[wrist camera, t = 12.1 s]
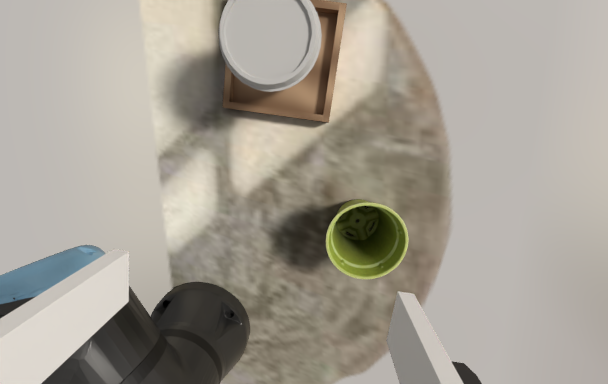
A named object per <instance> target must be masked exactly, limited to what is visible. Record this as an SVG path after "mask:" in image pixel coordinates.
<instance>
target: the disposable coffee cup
mask: <svg viewBox="0 0 608 384" xmlns="http://www.w3.org/2000/svg"><path fill="white" fill-rule="evenodd" d="M218 33H219V46H220V49H221V53H222V56H223V58H224V61H225V63H226V65H227V67H228V68H229V69H230V70H231V72H232V73H233V74H234V76H236V77H237V78H238V79H239V80H240V81H241V82H242V83H244V84H246V85H248V86H250V87H252V88H254V89H257V90H261V91H267V92H274V91H281V90H284V89H288V88H290V87H292V86H294V85H296V84H298V83H299V82H300V81H301V80H303V79H304V78H305V77H306V76H307V74H308V73H309V72H310V71H311V69H312V68H313V66H314V64H315V62H316V60H317V58H318V55H319V51H320V48H321V37H322V34H321V24H320V21H319V17H318V14H317V12H316V10H315V8H314V5H313V4H312V2H311V1H310V0H228V2H227V4H226V6H225V8H224V10H223V13H222V16H221V19H220V24H219V32H218Z"/></svg>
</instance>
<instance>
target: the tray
mask: <svg viewBox="0 0 608 384" xmlns="http://www.w3.org/2000/svg"><path fill="white" fill-rule="evenodd" d="M310 1H311V2H312V4H313V5H314V8H315V10H316V12H317V14H318V17H319V21H320V24H321V34H322V37H321V48H320V51H319V55H318V58H317V60H316V62H315V64H314V66H313V68H312V69H311V71H310V72H309V73H308V74H307V76H306V77H305V78H304V79H303V80H301V81H300V82H299V83H298V84H296V85H294V86H292V87H290V88H288V89H284V90H281V91H274V92H267V91H261V90H257V89H254V88H252V87H250V86H248V85H246V84H244V83H242V82H241V81H240V80H239V79H238V78H237V77H236V76H234V74H233V73H232V72H231V70H230V69H229V68H228V67H227V65H226V67H225V81H224V94H223V108H229V109H236V110H243V111H251V112H258V113H265V114H272V115H279V116H286V117H293V118H300V119H307V120H314V121H321V122H329V116H330V110H331V103H332V97H333V90H334V84H335V77H336V70H337V64H338V57H339V51H340V44H341V38H342V31H343V24H344V18H345V11H346V5H347V4H346V3H338V2H331V1H324V0H310Z"/></svg>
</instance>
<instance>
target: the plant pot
mask: <svg viewBox="0 0 608 384" xmlns="http://www.w3.org/2000/svg"><path fill="white" fill-rule="evenodd" d="M364 206H369V209H367V208H366V207H364ZM342 214H343V216H342V218H340V216H341V215H342ZM357 219H359V222H358V223H357V222H356V220H357ZM373 223H375V225H374V227H373V229H372V230H371V231H369V229H370V228H371V226H372V224H373ZM346 232H349V233H350V234H353V235H355V236H349V235H347V234H346ZM407 247H408V233H407V229H406V226H405V224H404V222H403V220H402V219H401V218H400V216H399V215H398V214H397V213H396V212H394V211H393V210H392V209H390V208H388V207H386V206H384V205H381V204H378V203H372V202H368V201H365V200H360V199H356V200H351V201H349V202H347V203H345V204H344V205H342V206H341V208H340V209H339V210H338V212H337V215H336V216H335V217H334V218H333V220H332V221H331V223H330V225H329V227H328V230H327V234H326V250H327V253H328V256H329V258H330V260H331V262H332V263H333V264H334V266H335V267H336V268H337V269H338V270H340V271H341V272H343V273H344V274H346V275H348V276H351V277H353V278H358V279H374V278H378V277H381V276H384V275H386V274H388V273H389V272H391V271H392V270H393V269H395V268H396V267H397V266H398V265H399V264H400V262H401V261H402V259H403V258H404V256H405V253H406V251H407Z"/></svg>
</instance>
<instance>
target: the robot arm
mask: <svg viewBox="0 0 608 384" xmlns="http://www.w3.org/2000/svg"><path fill="white" fill-rule="evenodd" d="M249 334H250V323H249V319H248V315H247V313H246V311H245V309H244V307H243V306H242V304H241V303H240V302H239V300H238V299H237V298H236V297H235V296H233V295H232V294H231V293H230V292H228V291H227V290H225V289H223V288H221V287H219V286H216V285H213V284H209V283H203V282H193V283H187V284H183V285H180V286H178V287H176V288H174V289H172V290H171V291H170V292H168V293H167V294H166V295H165V296H164V298H163V299H162V300H161V301H160V302H159V303H158V304H157V306H156V307H155V309H154V311H153V312H152V315H151V317H150V316H149V314H148V312H147V311H146V310H145V308H144V307H143V305H142V304H141V302H140V301H139V300H138V298H137V296H136V295H135V293H134V292H133V291H132V289H131V288H130V286H129V251H123V250H116V249H113V250H111V251H110V252H108V253H106V254H105V253H104V251H102V250H101V249H100V248H98V247H96V246H92V245H84V246H78V247H75V248H72V249H69V250H66V251H63V252H60V253H57V254H54V255H52V256H49V257H46V258H44V259H41V260H39V261H36V262H33V263H31V264H28V265H26V266H23V267H20V268H18V269H15V270H13V271H10V272H8V273H5V274H3V275H0V384H220V382H221V380H222V379H223V378H224V377H225V376H226V375H227V374H228V372H229V371H230V370H231V369H232V368H233V367H234V366H235V364H236V363H237V362H238V361H239V360H240V358H241V356H242V355H243V353H244V351H245V348H246V345H247V342H248V339H249ZM387 344H388V347H389V350H390V354H391V357H392V360H393V363H394V366H395V369H396V373H397V376H398V379H399V383H400V384H481V382H480V380H479V379H478V377H477V376H476V374H475V373H473V372H472V371H471V370H470V369H469V368H468V367H467V366H466V365H465V364H464V363H457V362H451V360H450V358H449V357H448V355H447V353H446V351H445V349H444V348H443V346H442V344H441V342H440V340H439V338H438V337H437V335H436V333H435V331H434V329H433V328H432V326H431V324H430V322H429V320H428V319H427V317H426V315H425V313H424V312H423V310H422V308H421V306H420V304H419V302H418V301H417V299H416V297H415V295H414V294H412V293H405V292H398V293H397V297H396V302H395V306H394V310H393V315H392V319H391V323H390V328H389V332H388V336H387Z"/></svg>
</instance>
